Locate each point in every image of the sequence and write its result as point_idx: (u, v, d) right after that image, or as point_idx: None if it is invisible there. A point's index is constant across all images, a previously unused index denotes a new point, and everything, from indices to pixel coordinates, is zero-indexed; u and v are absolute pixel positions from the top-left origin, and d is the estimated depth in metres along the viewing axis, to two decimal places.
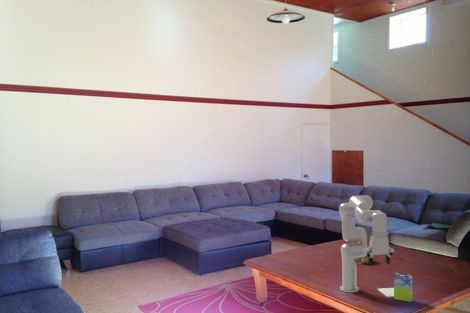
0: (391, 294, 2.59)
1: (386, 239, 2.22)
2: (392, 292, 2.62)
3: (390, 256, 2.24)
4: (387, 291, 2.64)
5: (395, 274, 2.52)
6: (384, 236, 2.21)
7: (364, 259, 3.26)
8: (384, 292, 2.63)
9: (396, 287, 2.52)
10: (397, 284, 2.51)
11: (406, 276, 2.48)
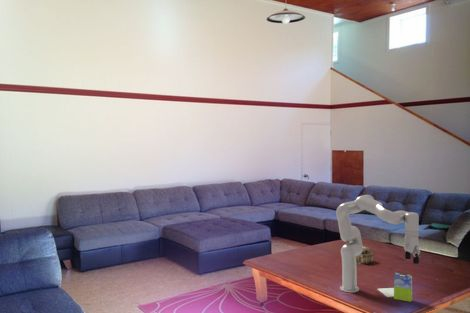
0: (391, 294, 2.59)
1: None
2: (392, 292, 2.62)
3: None
4: (387, 291, 2.64)
5: (395, 274, 2.52)
6: None
7: (364, 259, 3.26)
8: (384, 292, 2.63)
9: (396, 287, 2.52)
10: (397, 284, 2.51)
11: (406, 276, 2.48)
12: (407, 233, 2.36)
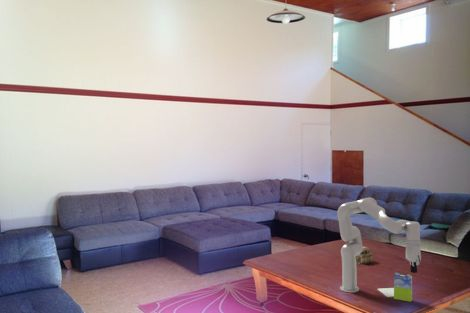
0: (391, 294, 2.59)
1: None
2: (392, 292, 2.62)
3: None
4: (387, 291, 2.64)
5: (395, 274, 2.52)
6: None
7: (363, 259, 3.27)
8: (384, 292, 2.63)
9: (396, 287, 2.52)
10: (397, 284, 2.51)
11: (406, 276, 2.48)
12: (409, 242, 2.37)
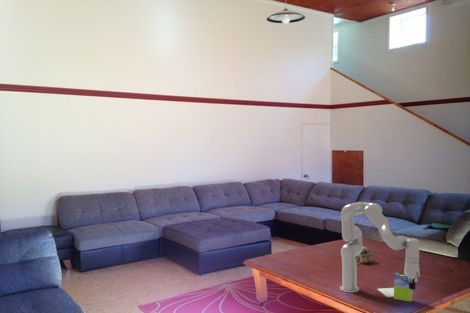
0: (391, 294, 2.59)
1: None
2: (392, 292, 2.62)
3: None
4: (387, 291, 2.64)
5: (395, 274, 2.52)
6: None
7: (363, 259, 3.27)
8: (384, 292, 2.63)
9: (396, 287, 2.52)
10: (397, 284, 2.51)
11: (406, 276, 2.48)
12: (408, 259, 2.38)
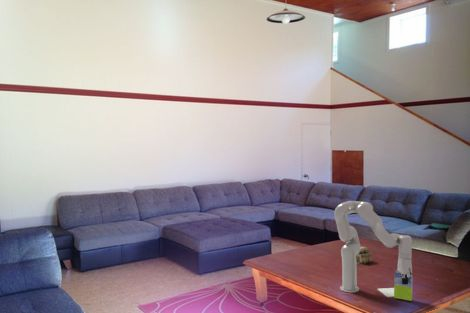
0: (391, 294, 2.59)
1: None
2: (392, 292, 2.62)
3: None
4: (387, 291, 2.64)
5: (396, 272, 2.54)
6: None
7: (362, 259, 3.27)
8: (384, 292, 2.63)
9: (396, 285, 2.53)
10: (397, 283, 2.53)
11: None
12: (401, 255, 2.46)
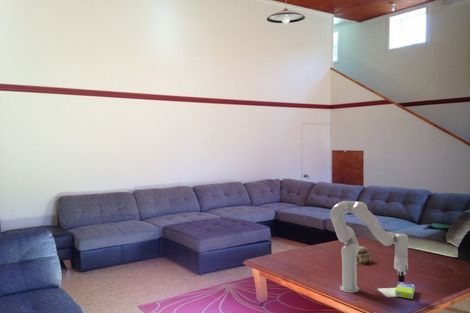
0: (391, 294, 2.59)
1: None
2: (392, 292, 2.62)
3: None
4: (387, 291, 2.64)
5: (399, 283, 2.69)
6: None
7: (362, 259, 3.27)
8: (384, 292, 2.63)
9: (399, 287, 2.62)
10: (400, 286, 2.63)
11: (409, 284, 2.66)
12: (397, 253, 2.51)
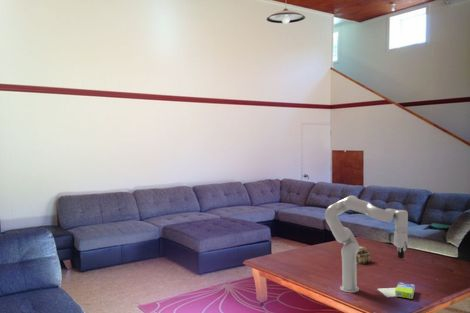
0: (391, 294, 2.59)
1: None
2: (392, 292, 2.62)
3: None
4: (387, 291, 2.64)
5: (399, 283, 2.69)
6: None
7: (361, 259, 3.27)
8: (384, 292, 2.63)
9: (399, 287, 2.62)
10: (400, 286, 2.63)
11: (409, 284, 2.66)
12: (397, 229, 2.51)
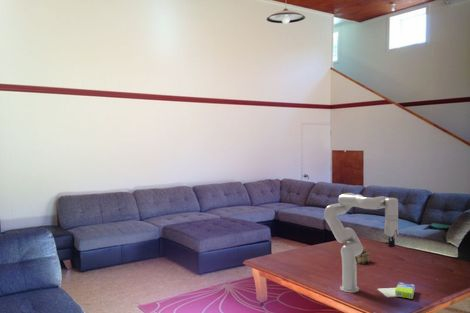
0: (391, 294, 2.59)
1: None
2: (392, 292, 2.62)
3: None
4: (387, 291, 2.64)
5: (399, 283, 2.69)
6: None
7: (360, 259, 3.27)
8: (384, 292, 2.63)
9: (399, 287, 2.62)
10: (400, 286, 2.63)
11: (409, 284, 2.66)
12: (387, 218, 2.45)
